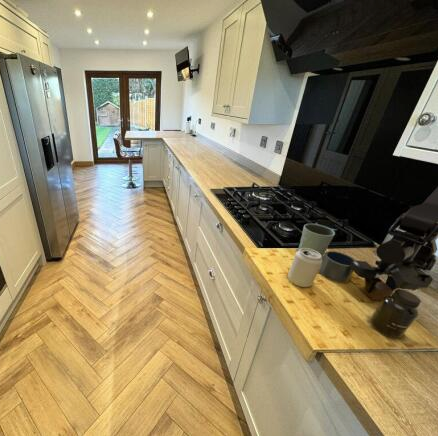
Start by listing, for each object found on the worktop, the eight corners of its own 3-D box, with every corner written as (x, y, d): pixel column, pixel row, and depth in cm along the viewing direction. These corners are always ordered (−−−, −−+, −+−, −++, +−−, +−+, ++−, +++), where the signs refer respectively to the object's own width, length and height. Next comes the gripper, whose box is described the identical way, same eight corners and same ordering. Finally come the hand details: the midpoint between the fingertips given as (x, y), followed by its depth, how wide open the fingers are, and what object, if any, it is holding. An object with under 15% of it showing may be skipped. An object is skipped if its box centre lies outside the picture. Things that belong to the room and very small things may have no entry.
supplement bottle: (390, 341, 61) (415, 308, 56) (362, 320, 67) (382, 288, 62) (408, 336, 63) (433, 303, 58) (379, 315, 69) (400, 284, 64)
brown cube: (377, 291, 78) (383, 281, 76) (386, 301, 74) (393, 291, 72) (362, 289, 79) (368, 279, 77) (371, 299, 75) (377, 288, 73)
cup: (329, 264, 91) (336, 249, 88) (354, 279, 84) (363, 263, 81) (312, 268, 88) (319, 253, 85) (337, 284, 81) (345, 268, 78)
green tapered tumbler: (329, 262, 92) (341, 236, 87) (303, 261, 92) (314, 235, 87) (313, 248, 102) (323, 223, 96) (290, 247, 102) (299, 222, 96)
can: (289, 271, 86) (299, 243, 81) (313, 280, 82) (325, 252, 77) (284, 281, 81) (295, 252, 76) (309, 292, 77) (323, 262, 72)
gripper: (384, 265, 63) (359, 307, 70) (465, 275, 61) (431, 317, 68) (358, 243, 73) (338, 282, 80) (427, 251, 71) (400, 290, 78)
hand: (375, 293), depth 76 cm, fingers closed on brown cube, 4 cm apart
